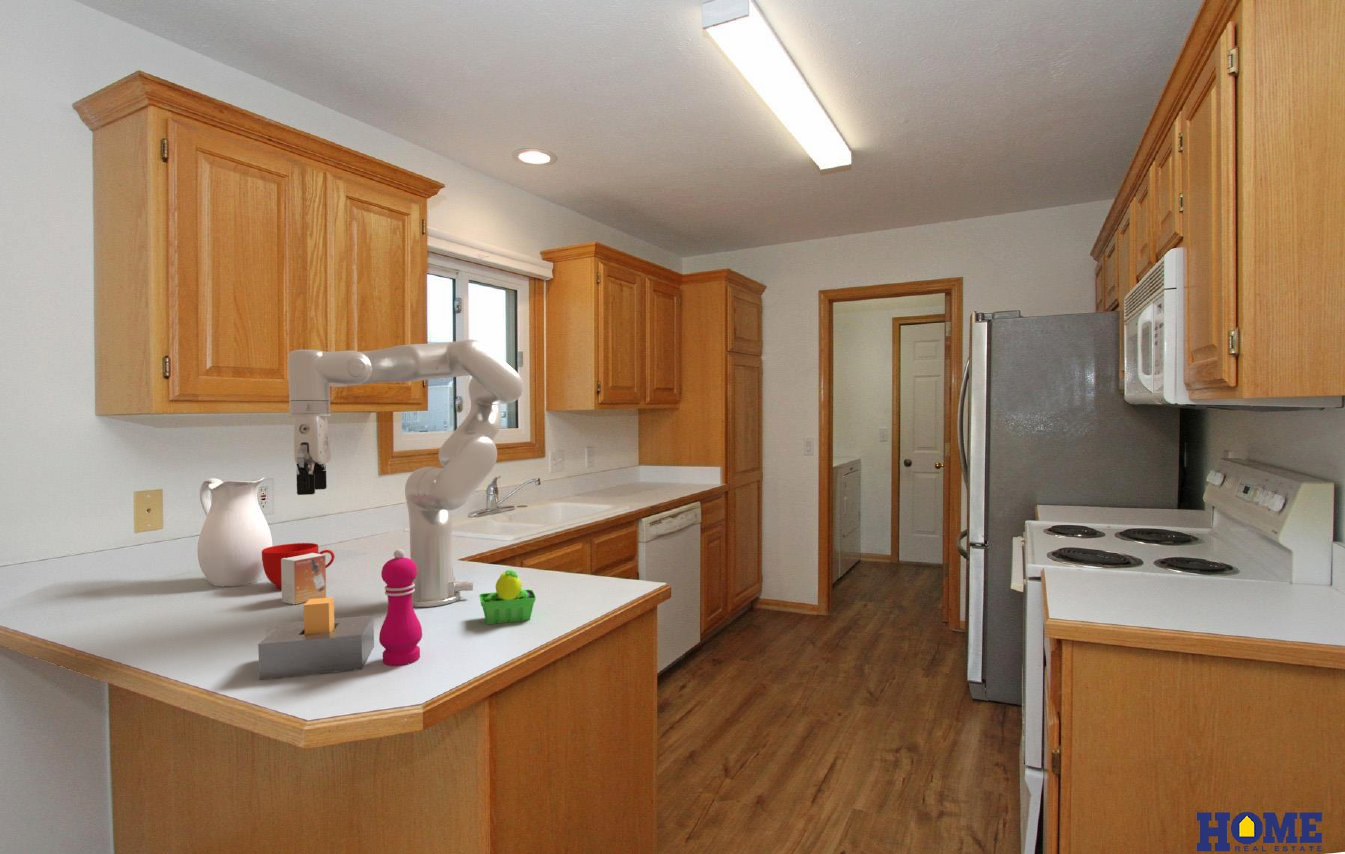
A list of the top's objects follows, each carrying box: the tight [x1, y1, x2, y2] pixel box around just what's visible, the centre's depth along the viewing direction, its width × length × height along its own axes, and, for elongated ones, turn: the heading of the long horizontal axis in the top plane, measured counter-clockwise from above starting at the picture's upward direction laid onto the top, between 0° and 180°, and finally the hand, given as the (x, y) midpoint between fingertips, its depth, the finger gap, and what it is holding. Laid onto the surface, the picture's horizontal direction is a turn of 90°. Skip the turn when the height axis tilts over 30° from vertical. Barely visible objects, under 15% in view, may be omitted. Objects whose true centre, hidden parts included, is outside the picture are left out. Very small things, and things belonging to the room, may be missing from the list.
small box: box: [281, 553, 327, 606], centre depth 164 cm, size 8×6×10 cm
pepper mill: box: [378, 548, 423, 667], centre depth 123 cm, size 7×7×20 cm
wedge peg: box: [303, 596, 335, 634], centre depth 123 cm, size 4×4×11 cm
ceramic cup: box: [262, 542, 335, 590], centre depth 179 cm, size 13×17×10 cm
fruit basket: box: [478, 569, 537, 625], centre depth 146 cm, size 11×9×11 cm
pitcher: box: [197, 477, 273, 587], centre depth 185 cm, size 24×17×28 cm
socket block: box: [257, 615, 375, 681], centre depth 123 cm, size 16×12×6 cm
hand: (312, 491), depth 143 cm, fingers open, 9 cm apart
